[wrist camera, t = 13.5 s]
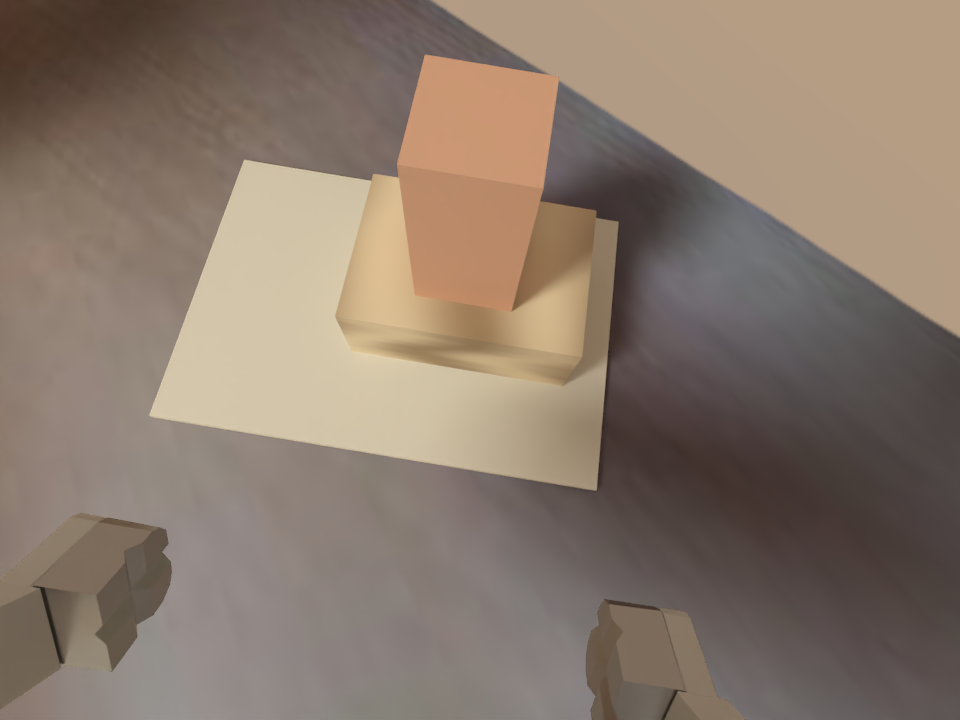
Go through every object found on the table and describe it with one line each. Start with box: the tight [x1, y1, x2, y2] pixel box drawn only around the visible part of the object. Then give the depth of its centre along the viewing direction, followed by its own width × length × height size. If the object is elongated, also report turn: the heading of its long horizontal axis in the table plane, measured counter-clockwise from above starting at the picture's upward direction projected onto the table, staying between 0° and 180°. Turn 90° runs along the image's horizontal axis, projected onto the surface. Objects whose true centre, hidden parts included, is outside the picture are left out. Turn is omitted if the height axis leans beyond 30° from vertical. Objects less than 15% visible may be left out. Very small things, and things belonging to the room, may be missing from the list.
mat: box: [149, 160, 619, 491], centre depth 26 cm, size 20×14×1 cm
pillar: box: [397, 55, 559, 311], centre depth 19 cm, size 4×4×8 cm
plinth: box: [335, 174, 597, 386], centre depth 25 cm, size 10×7×4 cm
